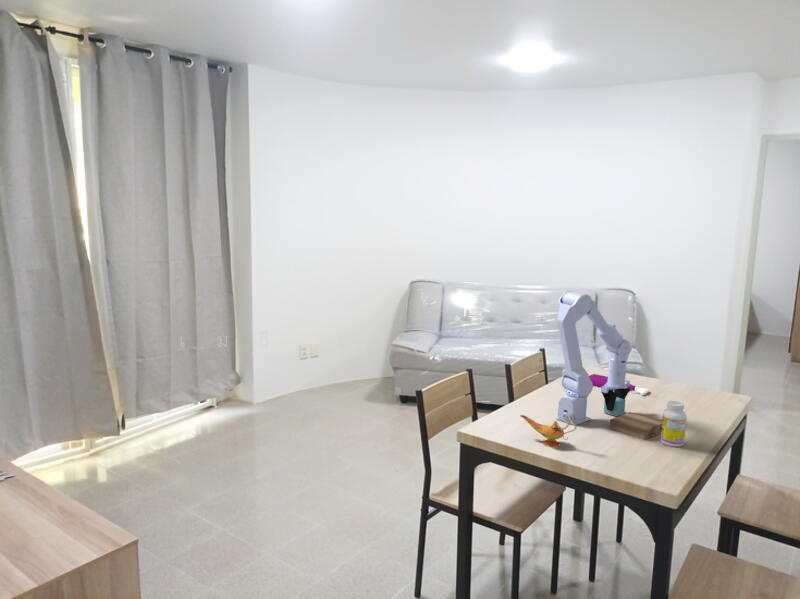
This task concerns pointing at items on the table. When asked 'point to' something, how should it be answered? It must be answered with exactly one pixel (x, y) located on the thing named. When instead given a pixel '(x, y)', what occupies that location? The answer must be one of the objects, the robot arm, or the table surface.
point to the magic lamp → (549, 431)
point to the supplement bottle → (674, 424)
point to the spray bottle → (602, 380)
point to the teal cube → (616, 407)
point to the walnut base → (636, 425)
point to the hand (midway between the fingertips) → (614, 408)
